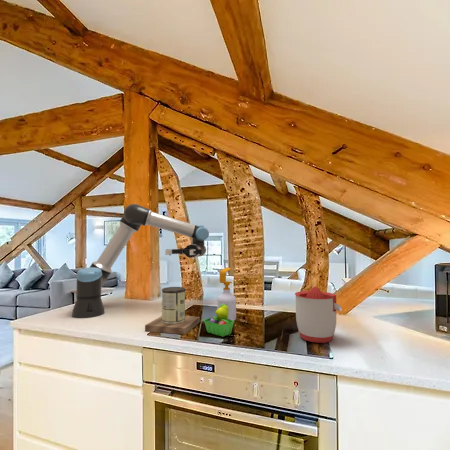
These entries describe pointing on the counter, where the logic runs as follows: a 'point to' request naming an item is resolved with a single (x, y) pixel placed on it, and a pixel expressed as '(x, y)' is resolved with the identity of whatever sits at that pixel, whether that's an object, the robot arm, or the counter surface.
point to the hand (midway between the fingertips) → (178, 252)
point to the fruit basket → (220, 322)
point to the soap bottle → (227, 296)
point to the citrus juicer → (316, 315)
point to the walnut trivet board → (173, 325)
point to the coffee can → (173, 305)
